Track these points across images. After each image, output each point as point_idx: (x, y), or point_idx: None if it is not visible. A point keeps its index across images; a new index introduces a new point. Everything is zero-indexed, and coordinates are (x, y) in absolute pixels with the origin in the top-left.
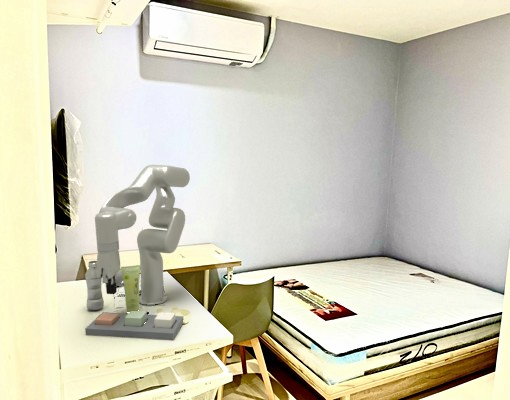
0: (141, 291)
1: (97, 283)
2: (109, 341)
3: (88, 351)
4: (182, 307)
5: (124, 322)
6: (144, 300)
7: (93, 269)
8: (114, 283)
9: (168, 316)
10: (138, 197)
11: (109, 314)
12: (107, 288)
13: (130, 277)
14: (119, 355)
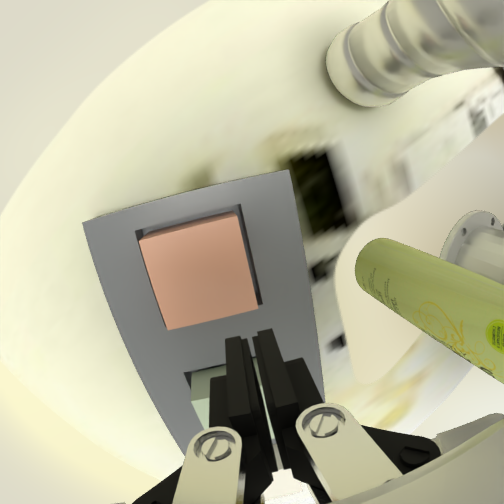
0: (489, 251)
1: (441, 52)
2: (102, 348)
3: (23, 320)
4: (424, 390)
5: (215, 358)
6: (456, 263)
7: None
8: (285, 469)
9: (269, 493)
10: None
11: (231, 268)
12: (210, 404)
13: (500, 358)
14: (66, 414)
